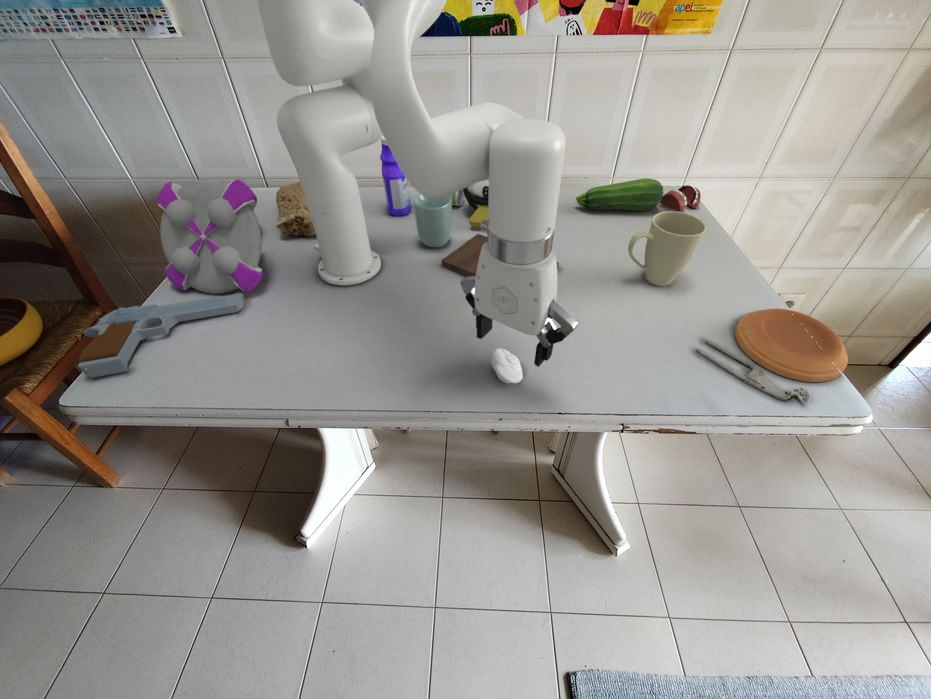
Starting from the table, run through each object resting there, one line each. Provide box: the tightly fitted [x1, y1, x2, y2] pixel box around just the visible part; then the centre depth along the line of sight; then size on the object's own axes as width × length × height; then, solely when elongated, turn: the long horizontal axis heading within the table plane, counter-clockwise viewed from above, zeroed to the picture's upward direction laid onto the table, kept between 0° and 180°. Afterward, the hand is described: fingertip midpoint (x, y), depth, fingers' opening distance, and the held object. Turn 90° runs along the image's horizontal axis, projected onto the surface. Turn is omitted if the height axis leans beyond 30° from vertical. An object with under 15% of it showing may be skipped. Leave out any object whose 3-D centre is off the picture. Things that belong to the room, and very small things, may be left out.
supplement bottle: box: [449, 189, 465, 207], centre depth 106 cm, size 5×5×10 cm
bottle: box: [379, 135, 412, 216], centre depth 99 cm, size 7×6×17 cm
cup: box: [413, 193, 453, 248], centre depth 90 cm, size 8×8×10 cm
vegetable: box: [575, 178, 665, 212], centre depth 101 cm, size 7×7×20 cm
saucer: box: [734, 308, 849, 383], centre depth 69 cm, size 16×16×3 cm
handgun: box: [77, 292, 245, 379], centre depth 72 cm, size 4×25×15 cm
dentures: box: [659, 184, 702, 213], centre depth 103 cm, size 6×5×9 cm
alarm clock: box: [463, 179, 489, 228], centre depth 99 cm, size 12×15×15 cm
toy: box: [156, 179, 264, 295], centre depth 83 cm, size 25×25×15 cm
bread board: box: [441, 233, 560, 278], centre depth 86 cm, size 20×13×2 cm, turn 54°
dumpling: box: [490, 347, 524, 384], centre depth 65 cm, size 7×5×4 cm
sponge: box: [275, 181, 316, 237], centre depth 100 cm, size 13×8×20 cm
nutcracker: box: [695, 340, 811, 406], centre depth 65 cm, size 16×1×5 cm
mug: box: [627, 210, 707, 287], centre depth 79 cm, size 11×10×12 cm
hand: (512, 346), depth 61 cm, fingers open, 9 cm apart
